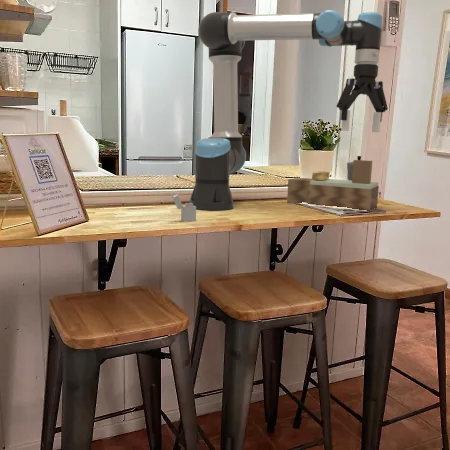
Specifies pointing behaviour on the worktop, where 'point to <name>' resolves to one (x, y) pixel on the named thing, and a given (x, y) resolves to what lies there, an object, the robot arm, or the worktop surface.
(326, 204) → the brown wooden box
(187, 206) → the lighter
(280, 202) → the worktop surface
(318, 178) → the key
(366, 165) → the lid
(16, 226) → the worktop surface
